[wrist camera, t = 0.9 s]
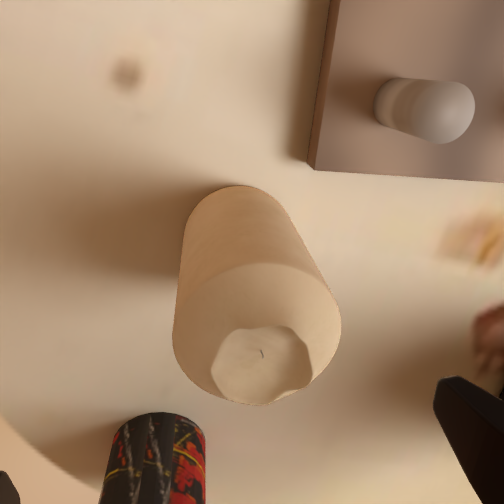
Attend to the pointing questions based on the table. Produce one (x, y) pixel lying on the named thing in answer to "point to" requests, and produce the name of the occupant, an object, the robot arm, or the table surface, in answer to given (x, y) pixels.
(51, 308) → the table surface
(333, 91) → the peg holder
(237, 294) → the candle
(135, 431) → the deodorant
